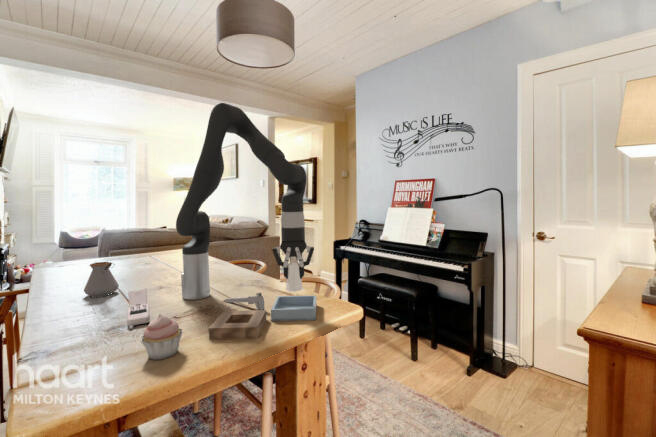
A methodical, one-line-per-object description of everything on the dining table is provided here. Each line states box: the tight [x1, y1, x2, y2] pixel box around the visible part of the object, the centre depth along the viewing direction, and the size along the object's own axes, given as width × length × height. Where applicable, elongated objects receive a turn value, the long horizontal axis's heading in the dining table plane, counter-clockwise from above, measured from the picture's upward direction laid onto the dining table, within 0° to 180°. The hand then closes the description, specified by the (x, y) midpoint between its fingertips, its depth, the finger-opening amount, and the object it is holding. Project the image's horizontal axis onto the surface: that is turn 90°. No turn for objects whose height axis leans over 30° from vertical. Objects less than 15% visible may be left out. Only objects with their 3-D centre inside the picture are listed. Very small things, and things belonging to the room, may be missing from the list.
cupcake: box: [140, 313, 184, 361], centre depth 76 cm, size 9×9×10 cm
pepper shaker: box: [285, 256, 303, 293], centre depth 102 cm, size 5×5×11 cm
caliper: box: [223, 292, 265, 310], centre depth 111 cm, size 20×1×6 cm, turn 56°
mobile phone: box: [126, 288, 151, 330], centre depth 103 cm, size 6×6×25 cm
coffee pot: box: [83, 261, 120, 298], centre depth 123 cm, size 21×12×15 cm, turn 48°
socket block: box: [208, 309, 267, 340], centre depth 91 cm, size 13×13×3 cm
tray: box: [270, 294, 317, 322], centre depth 103 cm, size 14×14×4 cm
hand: (294, 277), depth 102 cm, fingers closed on pepper shaker, 4 cm apart
